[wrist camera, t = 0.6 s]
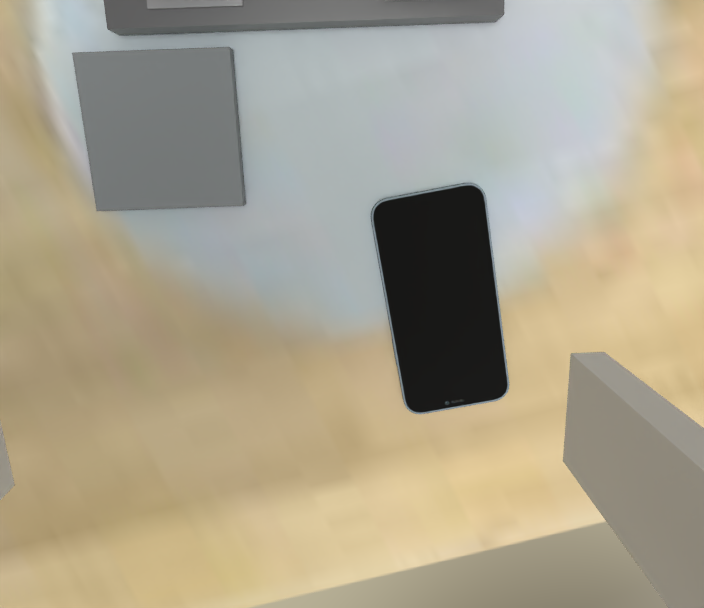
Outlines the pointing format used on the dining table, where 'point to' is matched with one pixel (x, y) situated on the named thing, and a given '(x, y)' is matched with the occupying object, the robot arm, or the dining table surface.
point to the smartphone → (442, 297)
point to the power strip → (288, 14)
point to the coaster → (161, 128)
